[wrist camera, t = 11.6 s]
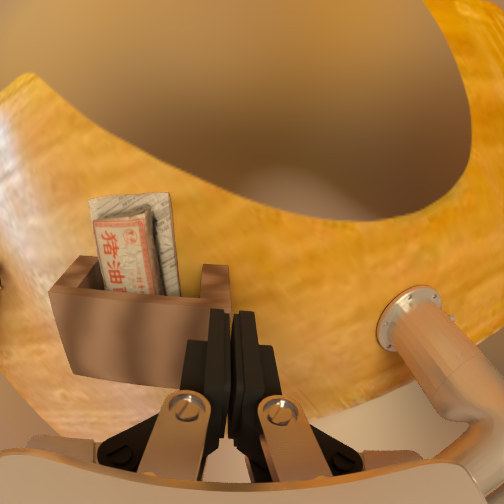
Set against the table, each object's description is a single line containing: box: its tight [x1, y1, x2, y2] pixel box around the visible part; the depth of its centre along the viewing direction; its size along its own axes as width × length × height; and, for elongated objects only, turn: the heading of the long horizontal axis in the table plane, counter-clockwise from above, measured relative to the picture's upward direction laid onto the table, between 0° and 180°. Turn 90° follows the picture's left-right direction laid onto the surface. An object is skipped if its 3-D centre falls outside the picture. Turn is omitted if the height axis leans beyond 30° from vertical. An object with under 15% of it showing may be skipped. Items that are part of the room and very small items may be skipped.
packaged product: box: [88, 192, 181, 297], centre depth 33 cm, size 18×5×10 cm
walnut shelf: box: [48, 256, 231, 389], centre depth 32 cm, size 19×12×9 cm, turn 83°
